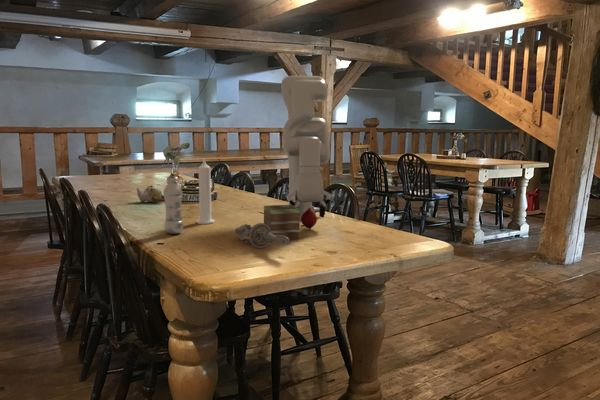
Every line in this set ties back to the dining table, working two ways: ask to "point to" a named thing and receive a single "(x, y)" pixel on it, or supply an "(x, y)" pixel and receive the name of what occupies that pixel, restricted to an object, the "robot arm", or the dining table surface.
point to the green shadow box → (283, 220)
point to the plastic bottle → (173, 206)
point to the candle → (205, 194)
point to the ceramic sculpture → (150, 195)
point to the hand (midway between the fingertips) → (309, 217)
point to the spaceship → (260, 235)
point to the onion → (309, 218)
